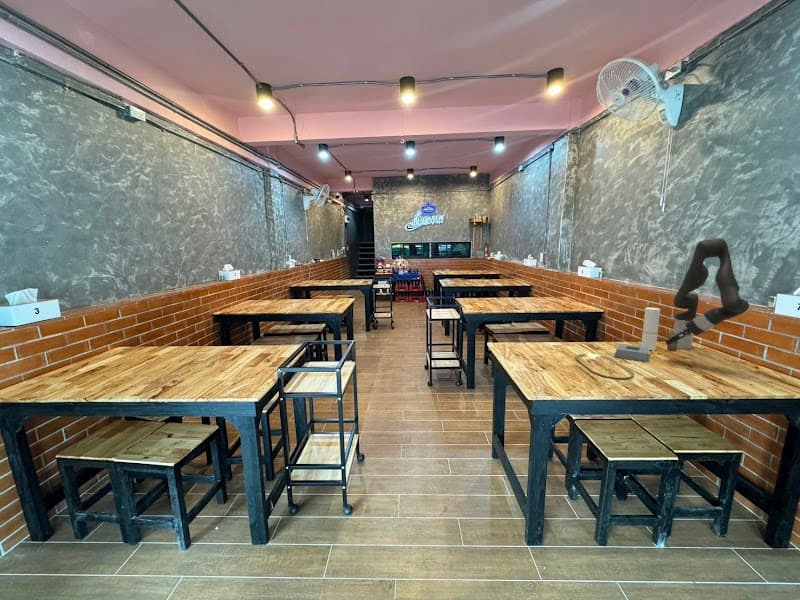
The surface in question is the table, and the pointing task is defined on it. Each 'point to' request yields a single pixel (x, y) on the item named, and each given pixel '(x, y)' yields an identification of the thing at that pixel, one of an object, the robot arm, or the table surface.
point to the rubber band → (609, 360)
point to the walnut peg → (673, 345)
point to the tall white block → (650, 328)
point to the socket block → (632, 353)
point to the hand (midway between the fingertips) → (668, 342)
